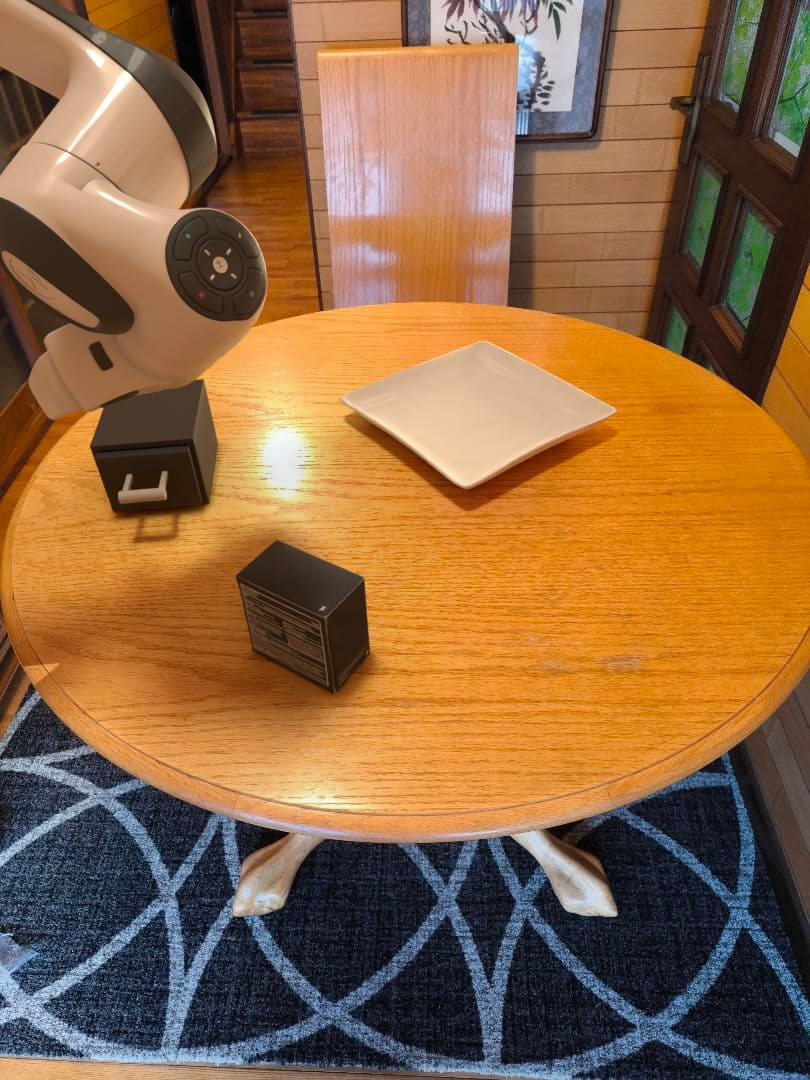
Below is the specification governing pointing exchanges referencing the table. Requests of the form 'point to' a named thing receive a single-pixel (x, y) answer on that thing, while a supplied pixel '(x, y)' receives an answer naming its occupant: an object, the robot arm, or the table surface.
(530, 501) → the table surface
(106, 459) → the drawer
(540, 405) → the square plate
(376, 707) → the table surface
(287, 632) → the small box
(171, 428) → the cabinet
